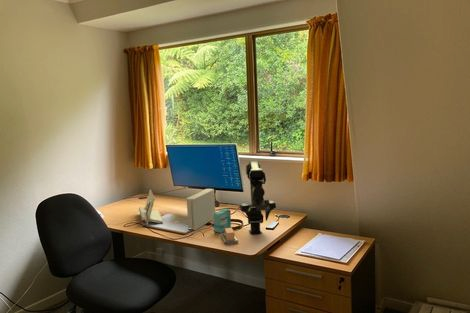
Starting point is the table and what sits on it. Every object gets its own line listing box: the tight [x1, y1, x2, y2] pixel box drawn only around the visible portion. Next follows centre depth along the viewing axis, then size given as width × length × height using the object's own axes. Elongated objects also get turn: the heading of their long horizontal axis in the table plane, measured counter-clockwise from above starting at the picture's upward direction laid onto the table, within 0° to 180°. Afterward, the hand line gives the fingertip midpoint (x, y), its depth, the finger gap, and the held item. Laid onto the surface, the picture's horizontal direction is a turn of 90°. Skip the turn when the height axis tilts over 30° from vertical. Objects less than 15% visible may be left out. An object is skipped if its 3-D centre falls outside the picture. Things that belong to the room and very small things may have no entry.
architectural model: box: [138, 189, 165, 225], centre depth 252 cm, size 20×29×21 cm
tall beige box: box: [224, 227, 236, 241], centre depth 208 cm, size 8×4×6 cm, turn 11°
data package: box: [213, 208, 232, 234], centre depth 225 cm, size 12×4×12 cm, turn 148°
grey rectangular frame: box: [220, 234, 239, 246], centre depth 208 cm, size 12×8×2 cm, turn 11°
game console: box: [186, 188, 216, 231], centre depth 239 cm, size 6×27×20 cm, turn 156°
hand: (258, 221), depth 197 cm, fingers open, 9 cm apart
